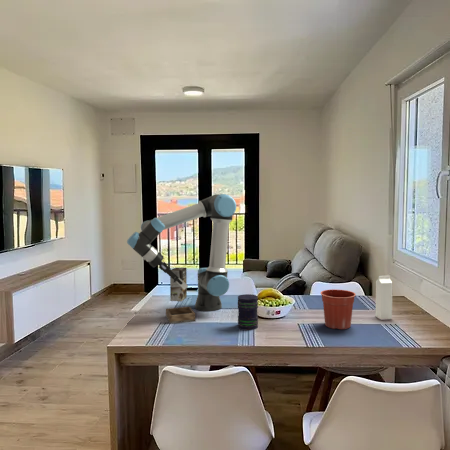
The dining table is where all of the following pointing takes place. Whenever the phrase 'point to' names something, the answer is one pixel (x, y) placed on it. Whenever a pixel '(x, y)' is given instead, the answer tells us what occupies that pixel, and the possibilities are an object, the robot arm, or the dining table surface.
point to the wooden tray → (180, 315)
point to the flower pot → (338, 308)
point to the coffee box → (175, 289)
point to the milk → (384, 298)
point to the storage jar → (247, 312)
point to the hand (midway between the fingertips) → (184, 285)
